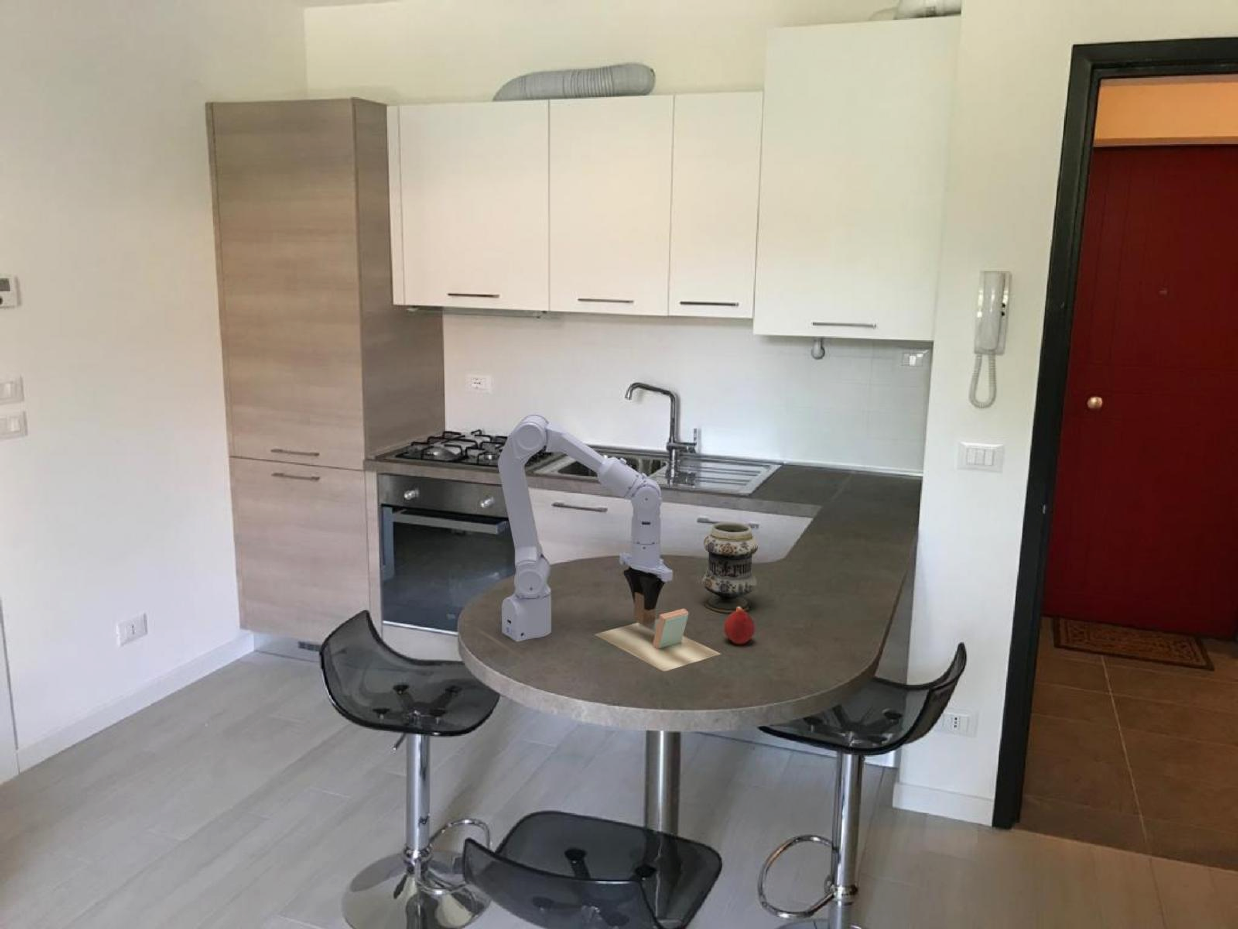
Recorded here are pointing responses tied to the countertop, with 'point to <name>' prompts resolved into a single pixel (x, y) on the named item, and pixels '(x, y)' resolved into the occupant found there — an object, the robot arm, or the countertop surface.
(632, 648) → the board
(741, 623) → the onion
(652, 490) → the robot arm
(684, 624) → the tile
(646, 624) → the bookend
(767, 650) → the countertop surface
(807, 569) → the countertop surface
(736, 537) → the apothecary jar
